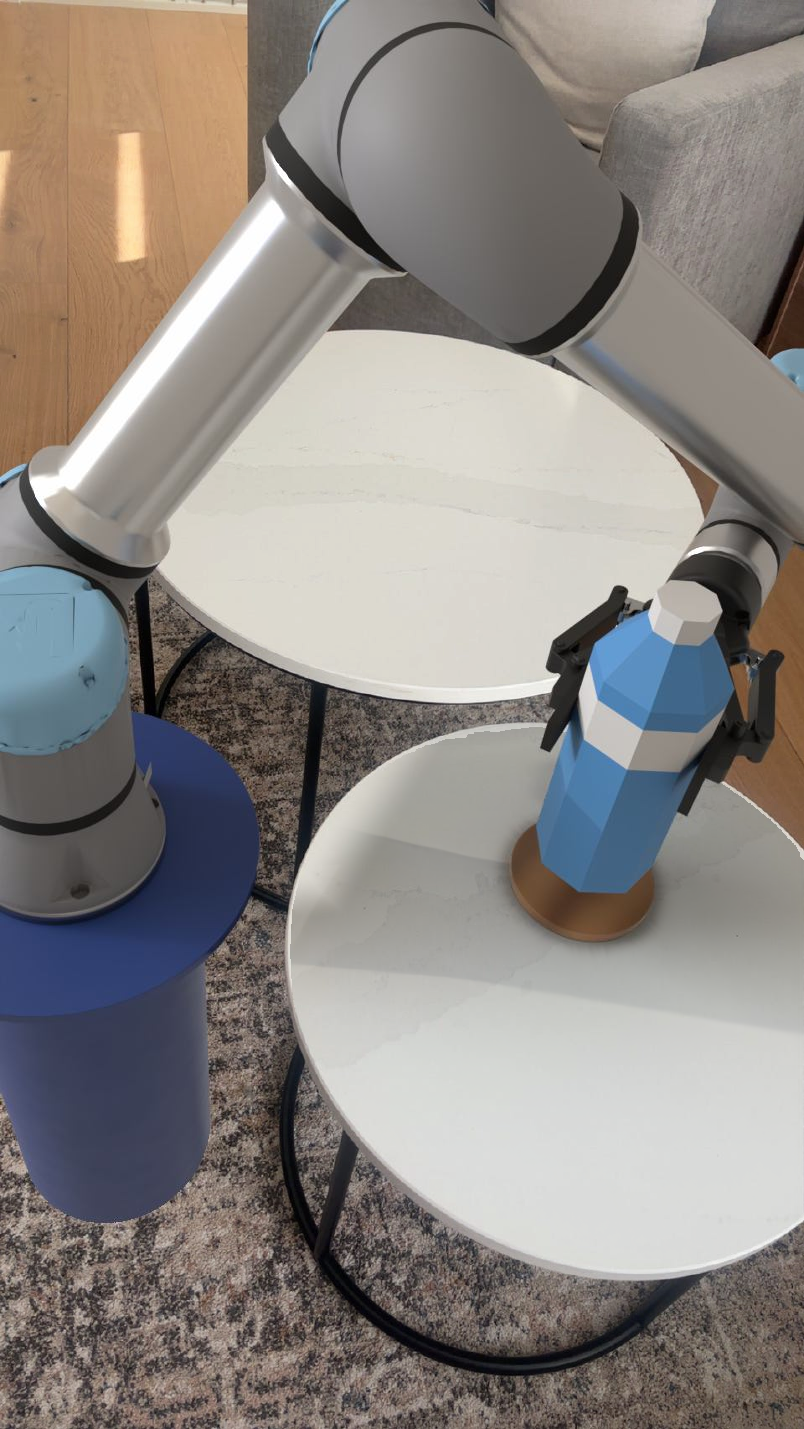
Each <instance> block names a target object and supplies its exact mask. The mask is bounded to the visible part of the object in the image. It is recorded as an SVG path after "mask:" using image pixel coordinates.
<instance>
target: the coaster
mask: <svg viewBox="0 0 804 1429" xmlns="http://www.w3.org/2000/svg"><path fill="white" fill-rule="evenodd" d="M536 825H537V822H536V823H533V825H531V826H530V827H528V828H527V829H526V830H525V831H523V833H522V834H521V835H520V836H519V838H518V839H517V841H516V842H515V845H514V847H513V850H512V852H511V856H510V860H509V865H508V876H509V882H510V885H511V888H512V891H513V893H514V895H515V897H516V899H517V901H518V902H519V904H520V905H521V907H522V908H523V910H524V911H525V912H526V913H527V914H528V915H529V916H530V917H531V918H532V919H534V920H535V922H537V923H538V924H539V925H541V926H543V927H544V928H546V929H548V930H549V931H551V932H553V933H555V934H557V935H559V936H562V937H565V938H567V939H571V940H575V941H581V942H588V943H589V942H590V943H591V942H592V943H593V942H594V943H597V942H598V943H599V942H607V941H611V940H612V941H613V940H617V939H619V938H620V937H624V936H626V935H628V934H629V933H631V932H633V931H634V930H635V929H636V928H637V927H639V925H640V924H641V923H643V921H644V919H645V918H646V916H647V915H648V913H649V911H650V909H651V907H652V904H653V901H654V897H655V889H656V886H655V877H654V874H653V870H652V867H651V868H650V869H649V870H648V871H647V872H646V873H645V874H644V875H643V876H642V877H641V878H640V879H639V880H638V881H637V882H636V883H635V884H634V885H633V886H632V887H631V888H630V890H629V891H628V892H627V893H626V894H624V893H594V892H578V891H577V890H576V889H575V888H573V887H572V886H571V885H569V884H568V883H567V882H565V881H564V880H563V879H562V878H560V877H559V876H558V875H556V874H555V873H554V872H553V871H551V870H550V869H549V868H547V867H546V866H545V865H543V864H542V861H541V855H540V848H539V842H538V835H537V829H536Z"/></svg>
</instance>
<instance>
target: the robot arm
mask: <svg viewBox="0 0 804 1429" xmlns="http://www.w3.org/2000/svg"><path fill="white" fill-rule="evenodd" d="M312 42H313V43H312V46H311V49H310V52H309V55H308V62H307V76H306V77H305V78H304V80H303V82H302V83H301V84H300V85H299V87H298V88H297V90H296V91H295V93H294V94H293V96H291V98H290V100H289V101H288V102H287V104H286V105H285V106H284V107H283V109H282V110H281V111H280V113H279V115H278V117H277V118H276V120H275V121H274V123H273V124H272V125H271V127H270V128H269V129H268V130H267V132H266V133H265V135H264V136H263V138H262V141H261V142H262V143H261V144H262V150H263V157H264V166H265V178H264V181H263V183H262V184H261V185H260V187H259V188H258V190H257V191H256V192H255V193H254V195H253V196H252V198H251V199H250V200H249V202H248V203H247V204H246V206H245V207H244V208H243V209H242V211H241V212H240V214H239V215H238V216H237V218H236V219H235V220H234V222H233V224H232V225H230V228H229V229H228V230H227V232H226V233H225V234H224V235H223V237H222V238H221V240H220V241H219V242H218V244H216V246H215V248H214V249H213V251H212V252H211V253H210V254H209V256H208V257H207V259H206V260H205V261H204V262H203V264H202V265H201V267H200V268H199V270H198V271H197V273H195V275H194V276H193V277H192V279H191V280H190V282H189V283H188V284H187V286H186V287H185V288H184V290H183V291H182V293H181V294H180V295H179V297H178V298H177V299H176V300H175V302H174V303H173V305H172V306H171V307H170V309H169V310H168V312H166V314H165V316H164V317H163V318H162V320H161V321H160V322H159V324H158V325H157V326H156V328H155V329H154V330H153V332H152V333H151V334H150V336H149V337H148V338H147V340H146V341H145V343H144V344H143V345H142V347H141V348H139V350H138V351H137V354H135V356H134V357H133V359H132V360H131V361H130V363H129V365H128V366H127V367H126V368H125V369H124V371H123V372H122V374H121V375H120V376H119V377H118V379H117V381H116V382H115V383H114V385H113V386H112V387H111V388H110V390H109V392H108V393H107V394H106V395H105V397H104V398H103V399H102V400H101V402H100V404H99V405H97V408H96V409H95V410H94V412H93V413H92V414H91V416H90V417H89V419H88V420H87V421H86V422H85V424H84V425H83V426H82V428H81V429H80V431H79V432H78V433H77V435H76V436H75V438H74V439H73V440H72V442H71V443H70V444H69V445H67V444H66V445H65V444H63V445H61V444H59V445H58V444H54V445H47V446H46V447H42V449H40V450H38V451H37V452H36V453H35V454H34V455H33V456H32V458H31V459H30V461H29V462H28V463H27V462H25V463H22V464H20V465H18V466H15V467H13V468H12V469H10V470H8V471H7V472H5V473H4V474H3V475H1V476H0V912H2V913H4V914H6V915H8V916H10V917H13V918H15V919H18V920H22V921H25V922H30V923H35V924H44V925H63V924H72V923H78V922H83V921H87V920H91V919H94V918H97V917H100V916H102V915H105V914H107V913H109V912H111V911H114V910H116V909H117V908H119V907H121V906H123V905H124V904H126V903H127V902H128V901H130V900H131V899H133V898H134V897H135V896H136V895H137V894H139V893H140V892H141V891H142V890H143V889H144V888H145V887H146V885H147V884H148V883H149V882H150V881H151V879H152V878H153V876H154V875H155V873H156V872H157V870H158V868H159V866H160V864H161V861H162V859H163V856H164V852H165V847H166V824H165V816H164V812H163V809H162V806H161V803H160V801H159V798H158V796H157V794H156V792H155V791H154V789H153V788H152V786H151V785H150V784H149V780H150V778H151V775H152V769H151V762H150V765H149V768H148V770H147V773H146V776H145V775H144V774H143V772H142V771H141V769H140V768H139V766H138V765H137V763H136V758H135V747H134V736H133V725H132V714H131V711H132V704H131V703H132V702H131V701H132V700H131V684H130V683H131V682H130V680H131V679H130V677H131V676H130V672H131V671H130V621H129V619H130V618H129V617H130V616H129V615H130V614H129V611H130V610H129V608H130V607H129V606H130V603H131V602H132V601H131V600H132V599H133V597H134V595H135V594H136V592H137V591H138V590H139V589H140V587H142V585H143V584H144V583H145V581H146V580H147V579H148V578H149V577H150V576H151V575H152V574H153V572H154V571H155V570H156V568H157V567H158V566H159V565H160V564H161V562H162V561H163V560H164V559H165V558H166V557H167V555H168V554H169V551H170V548H171V533H170V530H169V525H168V521H169V520H170V519H171V518H172V517H173V516H174V514H176V512H177V511H178V509H179V508H180V507H181V506H182V505H183V504H184V502H185V501H186V500H187V499H188V497H189V496H190V495H191V494H192V493H193V491H194V490H195V489H196V488H197V487H198V486H199V485H200V483H201V482H202V481H203V479H204V478H205V477H206V476H207V475H208V473H209V472H210V471H211V470H212V469H213V468H214V467H215V465H216V464H217V463H218V462H219V461H220V459H221V458H222V457H223V456H224V455H225V454H226V453H227V451H228V450H229V449H230V447H231V446H232V445H233V444H234V443H235V442H236V440H237V439H238V438H239V437H240V435H242V433H243V432H244V431H245V430H246V428H247V427H248V426H249V425H250V424H251V422H252V421H253V420H254V419H255V418H256V416H257V415H258V414H259V413H260V412H261V411H262V409H263V408H264V407H265V405H266V404H267V403H268V402H269V401H270V400H271V398H272V397H273V396H274V395H275V394H276V393H277V392H278V390H280V389H281V386H282V385H283V384H284V383H285V382H286V381H287V380H288V379H289V377H290V376H291V375H292V373H293V372H294V371H295V370H296V369H297V368H298V366H299V365H300V364H301V363H302V361H304V359H305V358H306V357H307V355H308V354H309V353H310V352H311V351H312V350H313V348H314V347H315V346H316V345H317V343H318V342H319V341H320V340H321V339H322V338H323V337H324V335H325V334H326V333H327V331H329V329H330V328H331V327H332V326H333V324H335V322H336V321H337V320H338V319H339V317H340V316H341V315H342V314H343V313H344V311H346V309H347V308H348V307H349V305H350V304H351V303H352V302H353V301H354V299H355V298H356V297H357V296H358V295H359V294H360V293H361V291H362V290H363V289H364V288H365V286H366V285H367V284H368V283H369V281H371V280H372V279H380V278H397V277H398V278H399V277H404V276H406V275H407V274H408V273H409V274H410V275H412V276H413V277H414V278H415V279H417V280H418V281H419V282H421V283H422V284H423V285H424V286H426V287H427V288H429V290H431V291H432V292H434V293H435V294H437V295H438V296H439V297H440V298H442V299H443V300H445V301H446V302H448V303H449V304H451V305H452V306H453V307H455V308H456V309H457V310H459V311H460V312H462V313H463V314H464V315H466V316H467V317H468V318H470V319H471V320H473V322H475V323H477V324H478V325H479V326H481V327H482V328H484V329H485V330H487V332H489V333H491V334H492V335H494V337H496V338H498V339H499V341H501V342H502V343H504V344H505V345H506V346H508V347H509V348H510V349H512V350H513V351H515V352H516V353H517V354H519V355H520V356H522V357H525V358H527V359H541V358H546V357H549V356H552V357H554V358H555V359H556V360H558V361H559V363H562V364H563V365H564V366H566V367H567V368H568V369H569V370H571V372H573V373H575V374H576V375H577V376H578V377H579V378H581V379H583V381H584V382H586V383H588V384H589V385H590V386H592V387H593V388H594V389H596V391H598V392H599V393H600V394H602V395H603V396H604V397H605V398H607V399H608V400H609V401H611V402H612V404H615V405H616V406H617V407H619V408H620V409H621V410H622V411H624V412H625V413H626V414H627V415H629V416H630V417H631V418H633V419H634V420H636V421H637V423H639V424H640V425H642V426H643V427H645V428H646V429H647V430H648V431H650V432H651V433H652V434H653V435H655V436H656V437H657V438H658V439H660V440H661V441H663V442H664V443H665V444H666V445H668V446H669V447H671V449H673V450H674V451H675V452H676V453H678V454H679V455H680V456H682V457H683V458H684V459H686V460H687V461H688V462H690V463H691V464H692V465H693V466H694V467H696V468H698V469H699V470H700V471H701V472H703V473H704V474H705V475H706V476H708V477H709V478H711V479H712V481H714V482H715V483H717V484H718V487H717V490H716V492H715V494H714V498H713V499H712V503H711V506H710V509H709V510H708V512H707V515H706V517H705V519H704V520H703V522H702V523H701V525H700V527H699V529H698V531H697V533H696V534H695V536H694V537H693V538H692V540H691V541H690V543H689V544H688V546H687V547H686V549H685V551H684V552H683V554H682V555H681V557H680V559H679V560H678V562H677V564H675V568H673V570H672V571H671V573H670V575H669V577H668V578H667V580H666V581H665V583H664V584H666V583H667V582H668V581H670V580H677V581H692V582H696V583H698V584H700V585H701V586H703V587H705V588H706V589H708V590H710V591H712V592H713V593H715V594H716V595H717V597H718V600H719V603H720V606H721V608H722V614H721V616H720V618H719V621H718V623H717V626H716V628H715V630H714V635H715V637H716V640H717V642H718V644H719V647H720V649H721V651H722V654H723V657H724V660H725V663H726V665H727V668H728V671H729V674H730V677H731V680H732V683H733V685H734V688H735V689H734V691H733V693H732V695H731V697H730V700H729V702H728V704H727V706H726V708H725V710H724V713H723V715H722V717H721V719H720V721H719V723H718V725H717V728H716V730H715V732H714V734H713V736H712V738H711V740H710V742H709V744H708V746H707V748H706V750H705V752H704V755H703V757H702V759H701V761H700V763H699V765H698V767H697V769H696V771H695V773H694V775H693V777H692V779H691V781H690V784H689V786H688V788H687V790H686V792H685V794H684V796H683V799H682V801H681V803H680V805H679V807H678V809H677V814H680V815H682V816H685V817H688V816H689V813H690V812H691V810H692V808H693V806H694V803H695V801H696V799H697V797H698V795H699V793H700V791H701V789H702V787H703V784H704V782H705V780H708V781H711V782H713V783H715V784H718V785H720V784H721V783H723V782H724V781H725V779H726V777H727V775H728V773H729V771H730V769H731V767H732V765H733V763H734V761H735V758H736V757H741V756H743V757H745V758H746V760H747V761H749V762H750V763H752V764H760V763H761V762H762V761H763V759H764V758H765V756H766V754H767V752H768V750H769V748H770V746H771V744H772V742H773V740H774V738H775V735H776V732H775V730H776V728H775V727H776V697H777V696H776V694H777V692H776V691H777V675H778V673H779V671H780V669H781V667H782V665H783V663H784V660H785V658H786V656H785V654H784V652H782V651H780V650H778V649H771V650H768V653H767V654H765V653H763V652H762V651H760V650H757V649H756V648H754V647H751V641H750V639H749V635H750V634H751V631H752V629H753V627H754V625H755V623H756V621H757V619H758V617H759V616H760V613H761V611H762V609H763V607H764V605H765V603H766V601H767V599H768V597H769V595H770V592H771V591H772V589H773V587H774V585H775V583H776V580H777V579H778V578H777V577H778V575H779V573H780V571H781V569H782V567H783V565H784V563H785V562H786V560H787V558H788V557H789V555H790V553H791V550H792V549H793V548H794V547H795V546H797V547H798V548H799V549H801V550H802V551H803V552H804V348H790V349H787V350H783V351H780V352H778V353H776V354H775V355H774V356H773V357H771V358H768V356H766V354H764V353H763V352H762V351H761V350H760V349H759V348H757V346H755V345H754V344H753V343H752V342H751V341H750V340H749V338H747V337H746V336H745V335H744V334H743V333H742V332H740V331H739V330H738V328H736V327H735V326H734V325H733V324H732V323H731V322H730V321H729V320H728V319H727V318H726V317H725V316H723V315H722V314H721V313H720V312H719V311H718V309H716V308H715V307H714V306H713V305H711V303H710V302H708V300H706V299H705V298H704V297H703V296H702V295H701V294H700V293H699V292H698V291H697V290H695V289H694V288H693V287H692V285H690V284H689V283H688V282H687V281H686V280H685V279H684V278H683V277H681V275H680V274H678V272H677V271H675V270H674V269H673V268H672V267H671V266H670V265H669V264H668V263H667V262H666V261H665V260H664V259H662V257H660V256H659V254H657V253H656V252H655V251H654V250H653V248H651V247H650V246H649V245H648V244H646V242H644V240H643V230H644V227H643V219H642V215H641V212H640V210H639V208H638V207H637V206H636V205H635V204H634V203H633V202H632V200H630V199H629V197H628V196H626V195H625V194H624V193H623V192H622V191H621V190H620V189H619V188H618V187H617V186H616V185H615V184H614V183H613V182H612V181H611V180H610V179H609V178H608V176H606V174H604V172H603V171H602V170H601V169H600V167H599V166H598V164H597V163H596V162H595V160H594V159H593V157H592V156H591V155H590V153H588V151H587V150H586V149H585V147H584V146H583V144H582V143H581V141H580V140H579V139H578V138H577V136H576V134H575V133H574V131H573V130H572V129H571V127H570V125H569V124H568V122H567V120H566V119H565V118H564V116H563V114H562V113H561V111H560V110H559V109H558V107H557V105H556V104H555V102H554V100H553V99H552V97H551V96H550V94H549V92H548V90H547V89H546V87H545V86H544V84H543V82H542V81H541V79H540V78H539V77H538V75H537V73H536V72H535V71H534V69H533V68H532V67H531V65H530V64H529V63H528V62H527V61H526V59H525V58H524V57H523V56H522V55H521V54H520V52H519V51H518V50H517V48H516V47H515V45H514V44H513V43H512V40H510V39H509V37H508V36H507V34H506V32H505V31H504V28H503V27H502V26H501V25H500V24H499V23H498V22H497V20H496V18H495V17H494V16H493V14H492V13H491V11H490V10H489V8H488V6H487V5H486V4H485V2H482V1H481V0H335V1H334V2H333V4H332V5H331V7H329V9H328V10H327V12H326V13H325V15H324V17H323V18H322V21H321V22H320V24H319V27H318V28H317V31H316V34H315V36H314V38H313V41H312ZM628 594H629V589H628V587H626V586H624V585H621V584H619V585H618V584H616V585H614V586H613V588H612V590H611V592H610V594H609V596H608V598H607V600H606V601H604V602H603V603H601V604H600V605H599V606H597V607H596V608H595V609H593V610H592V611H591V612H589V613H587V614H586V615H585V616H583V618H581V619H580V620H578V621H576V623H574V624H573V625H572V626H570V627H569V628H567V629H566V630H565V631H563V632H561V633H560V634H559V635H558V636H557V637H555V638H554V639H553V640H552V642H551V645H550V649H549V653H548V656H547V660H546V663H545V669H546V671H547V672H548V673H551V674H558V675H559V677H558V679H557V680H556V681H555V683H554V684H553V686H552V688H551V692H550V694H549V698H548V704H547V706H548V707H549V709H550V708H551V709H552V710H554V711H553V712H552V714H551V716H549V718H548V720H547V722H546V725H545V729H544V732H543V736H542V739H541V743H540V746H539V749H541V750H543V751H545V752H547V753H548V754H550V753H551V752H552V750H553V749H554V747H555V745H556V744H557V742H558V740H559V739H560V738H561V736H562V734H563V732H564V731H565V730H566V728H567V727H568V725H569V722H570V719H571V716H572V713H573V710H574V707H575V704H576V701H577V698H578V694H579V691H580V688H581V685H582V682H583V679H584V675H585V672H586V669H587V666H588V663H589V660H590V657H591V654H592V651H593V647H594V644H595V643H596V642H597V641H599V640H600V639H601V638H602V637H604V636H605V635H606V634H608V633H609V632H610V631H612V630H613V629H614V628H616V627H617V626H618V625H620V624H621V623H622V622H624V621H625V620H627V619H629V618H631V617H633V616H635V615H638V614H640V613H642V612H644V611H646V610H649V609H650V607H651V604H652V602H653V599H654V597H653V598H650V599H648V600H646V602H643V601H641V600H639V599H635V598H631V597H629V596H628ZM740 664H743V665H744V666H745V668H746V669H745V673H746V675H747V677H746V680H747V682H749V683H750V686H749V689H748V693H747V714H746V720H745V717H744V714H743V710H742V706H741V704H740V700H739V696H738V692H737V689H736V685H735V682H734V679H733V675H732V671H731V667H734V666H737V665H740Z"/></svg>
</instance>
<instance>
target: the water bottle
mask: <svg viewBox="0 0 804 1429" xmlns="http://www.w3.org/2000/svg"><path fill="white" fill-rule="evenodd" d="M665 583H666V582H665ZM665 583H664V584H663V585H662V586H660V587H659V588H658V589H656V590H655V594H654V596H653V598H654V599H653V598H652V599H653V602H652V604H651V607H650V609H649V610H646V611H644V612H642V613H640V614H638V615H635V616H633V617H631V618H629V619H627V620H625V621H624V622H622V623H621V624H620V625H618V626H617V625H616V627H615V628H614V629H613V630H612V631H610V632H609V633H608V634H606V635H605V636H604V637H602V638H601V639H600V640H599V641H597V642H596V643H595V644H594V647H593V651H592V654H591V657H590V660H589V663H588V666H587V669H586V672H585V675H584V679H583V682H582V685H581V688H580V691H579V694H578V698H577V701H576V704H575V707H574V710H573V713H572V716H571V719H570V722H569V723H568V725H567V727H566V728H567V729H566V731H565V734H564V738H563V741H562V744H561V748H560V751H559V753H558V756H557V760H556V763H555V766H554V769H553V772H552V774H551V778H550V782H549V784H548V787H547V791H546V794H545V797H544V800H543V802H542V803H543V804H542V806H541V810H540V813H539V816H538V819H537V822H536V823H537V825H536V829H537V835H538V842H539V848H540V855H541V861H542V864H543V865H545V866H546V867H547V868H549V869H550V870H551V871H553V872H554V873H555V874H556V875H558V876H559V877H560V878H562V879H563V880H564V881H565V882H567V883H568V884H569V885H571V886H572V887H573V888H575V889H576V890H577V891H578V892H594V893H624V894H626V893H627V892H628V891H629V890H630V888H631V887H632V886H633V885H634V884H635V883H636V882H637V881H638V880H639V879H640V878H641V877H642V876H643V875H644V874H645V873H646V872H647V871H648V870H649V869H650V868H651V869H652V867H653V866H654V863H655V861H656V858H657V856H658V855H659V852H660V850H661V848H662V846H663V843H664V841H665V840H666V837H667V835H668V833H669V831H670V829H671V826H672V824H673V822H674V820H675V818H676V816H677V814H678V812H677V809H678V807H679V805H680V803H681V801H682V799H683V796H684V794H685V792H686V790H687V788H688V786H689V784H690V781H691V779H692V777H693V775H694V773H695V771H696V769H697V767H698V765H699V763H700V761H701V759H702V757H703V755H704V752H705V750H706V748H707V746H708V744H709V742H710V740H711V738H712V736H713V734H714V732H715V730H716V728H717V725H718V723H719V721H720V719H721V717H722V715H723V713H724V710H725V708H726V706H727V704H728V702H729V700H730V697H731V695H732V693H733V691H734V689H735V688H736V687H735V688H734V685H735V684H734V685H733V683H732V680H731V677H730V674H729V671H728V668H727V665H726V663H725V660H724V657H723V654H722V651H721V649H720V647H719V644H718V642H717V640H716V637H715V635H714V630H715V628H716V626H717V623H718V621H719V618H720V616H721V614H722V608H721V606H720V603H719V600H718V597H717V595H716V594H715V593H713V592H712V591H710V590H708V589H706V588H705V587H703V586H701V585H700V584H698V583H696V582H692V581H677V580H670V581H668V582H667V583H666V584H665Z"/></svg>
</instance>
